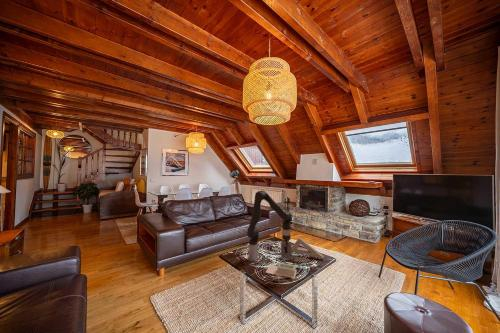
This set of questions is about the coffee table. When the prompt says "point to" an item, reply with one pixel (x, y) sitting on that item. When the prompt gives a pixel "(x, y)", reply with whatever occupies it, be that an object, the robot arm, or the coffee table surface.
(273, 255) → the coffee table surface
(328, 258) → the coffee table surface
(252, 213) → the robot arm
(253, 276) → the coffee table surface
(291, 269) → the well board
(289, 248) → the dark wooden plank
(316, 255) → the wall bracket
